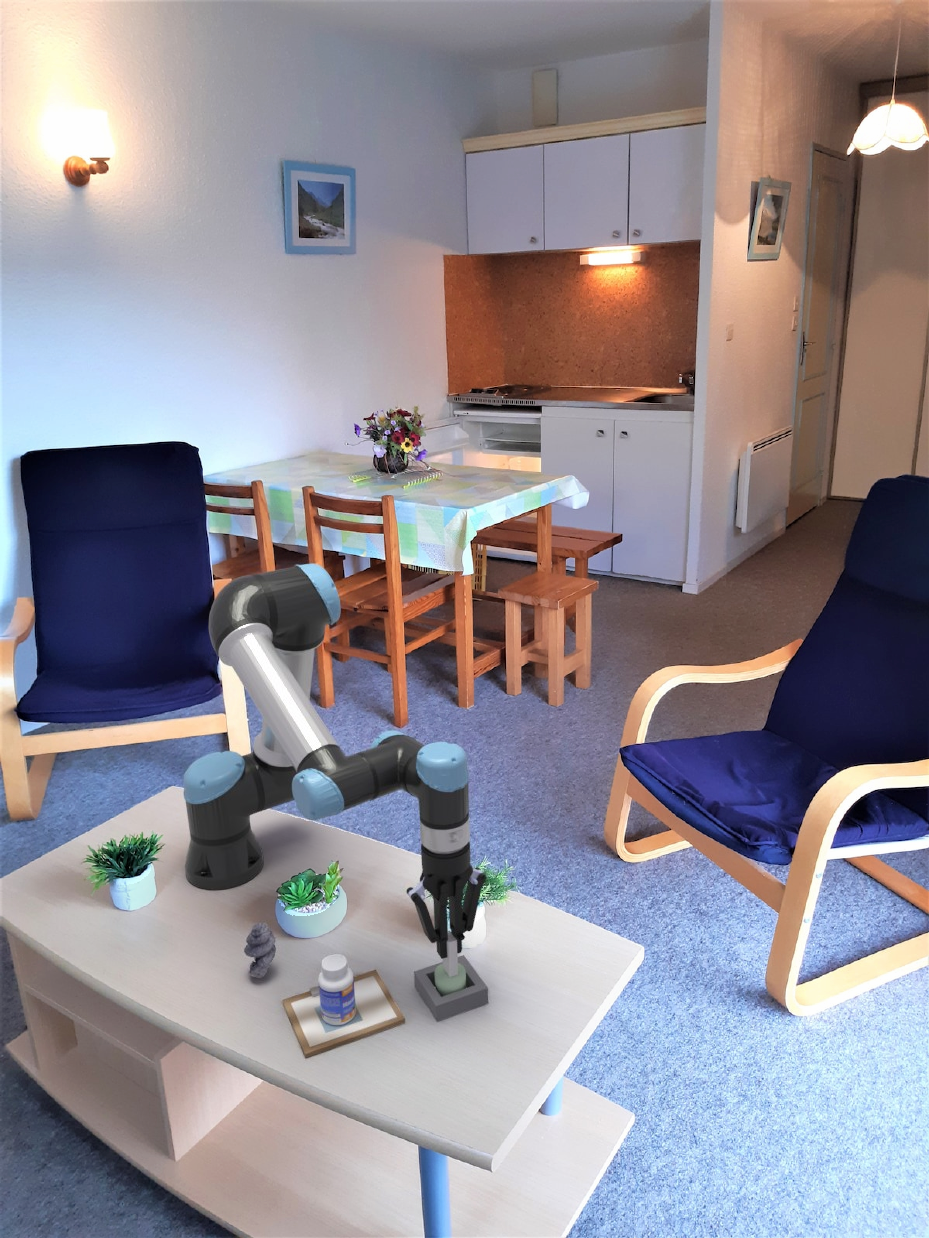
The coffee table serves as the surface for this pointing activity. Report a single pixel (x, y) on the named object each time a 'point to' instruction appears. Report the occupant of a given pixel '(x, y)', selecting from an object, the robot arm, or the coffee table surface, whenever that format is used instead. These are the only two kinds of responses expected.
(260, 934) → the seashell
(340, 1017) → the pill bottle
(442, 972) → the button
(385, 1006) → the clipboard
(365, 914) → the coffee table surface
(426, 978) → the button housing
